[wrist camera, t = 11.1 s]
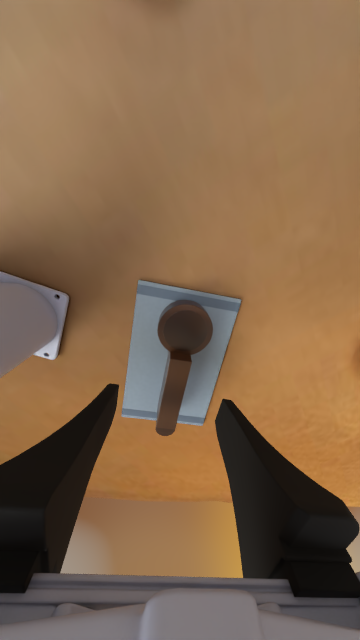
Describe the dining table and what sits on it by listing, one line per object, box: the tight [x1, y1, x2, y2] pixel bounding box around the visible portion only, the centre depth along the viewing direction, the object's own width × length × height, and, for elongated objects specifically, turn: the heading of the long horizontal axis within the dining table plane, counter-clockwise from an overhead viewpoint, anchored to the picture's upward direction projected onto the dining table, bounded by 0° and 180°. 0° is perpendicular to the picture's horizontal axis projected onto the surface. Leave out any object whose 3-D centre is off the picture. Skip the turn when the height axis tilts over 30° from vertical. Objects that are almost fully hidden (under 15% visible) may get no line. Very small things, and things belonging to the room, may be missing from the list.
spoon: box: [156, 300, 213, 436], centre depth 20 cm, size 15×6×3 cm, turn 169°
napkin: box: [122, 280, 241, 426], centre depth 22 cm, size 11×18×1 cm, turn 169°
